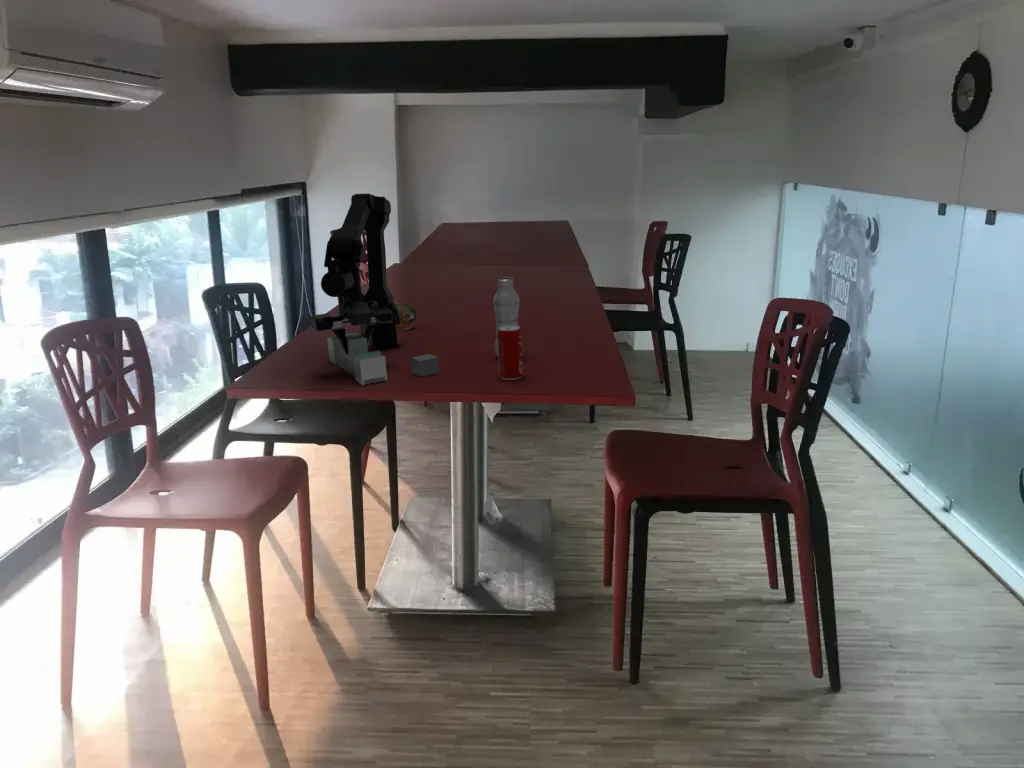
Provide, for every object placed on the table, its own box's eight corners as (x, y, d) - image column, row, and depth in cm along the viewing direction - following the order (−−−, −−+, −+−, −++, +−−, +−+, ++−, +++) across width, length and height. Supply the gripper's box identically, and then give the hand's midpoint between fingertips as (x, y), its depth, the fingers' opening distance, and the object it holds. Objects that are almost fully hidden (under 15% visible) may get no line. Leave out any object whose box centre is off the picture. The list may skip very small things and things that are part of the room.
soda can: (523, 380, 177) (522, 328, 174) (499, 381, 177) (497, 329, 173) (521, 373, 183) (520, 323, 179) (498, 374, 182) (496, 324, 179)
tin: (367, 336, 225) (365, 307, 223) (365, 334, 228) (362, 305, 225) (417, 329, 231) (415, 301, 228) (414, 327, 234) (412, 300, 231)
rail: (352, 357, 202) (349, 331, 200) (387, 381, 180) (384, 352, 178) (329, 361, 199) (326, 335, 197) (362, 385, 177) (359, 356, 175)
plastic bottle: (491, 356, 198) (487, 277, 193) (515, 352, 201) (512, 275, 195) (500, 361, 193) (497, 281, 187) (525, 358, 195) (523, 278, 189)
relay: (429, 369, 189) (428, 353, 187) (439, 373, 186) (437, 357, 184) (412, 374, 186) (410, 357, 184) (421, 377, 183) (419, 361, 181)
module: (359, 352, 193) (357, 331, 191) (368, 358, 187) (366, 337, 185) (343, 355, 191) (341, 334, 189) (352, 361, 185) (350, 339, 183)
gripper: (319, 299, 173) (326, 366, 178) (398, 289, 181) (403, 353, 186) (306, 291, 182) (313, 356, 187) (382, 282, 191) (387, 344, 195)
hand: (355, 352), depth 189 cm, fingers closed on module, 4 cm apart
